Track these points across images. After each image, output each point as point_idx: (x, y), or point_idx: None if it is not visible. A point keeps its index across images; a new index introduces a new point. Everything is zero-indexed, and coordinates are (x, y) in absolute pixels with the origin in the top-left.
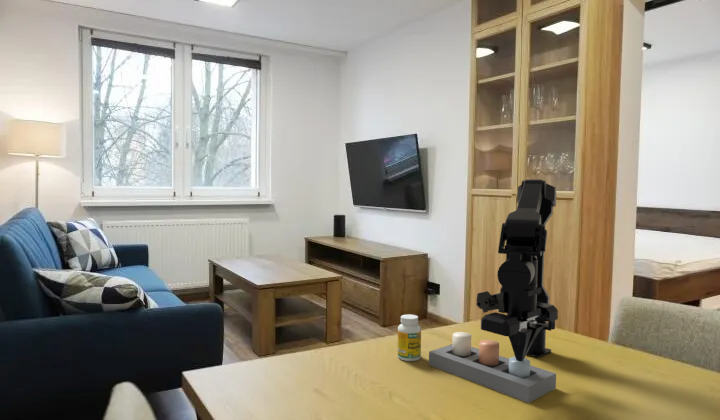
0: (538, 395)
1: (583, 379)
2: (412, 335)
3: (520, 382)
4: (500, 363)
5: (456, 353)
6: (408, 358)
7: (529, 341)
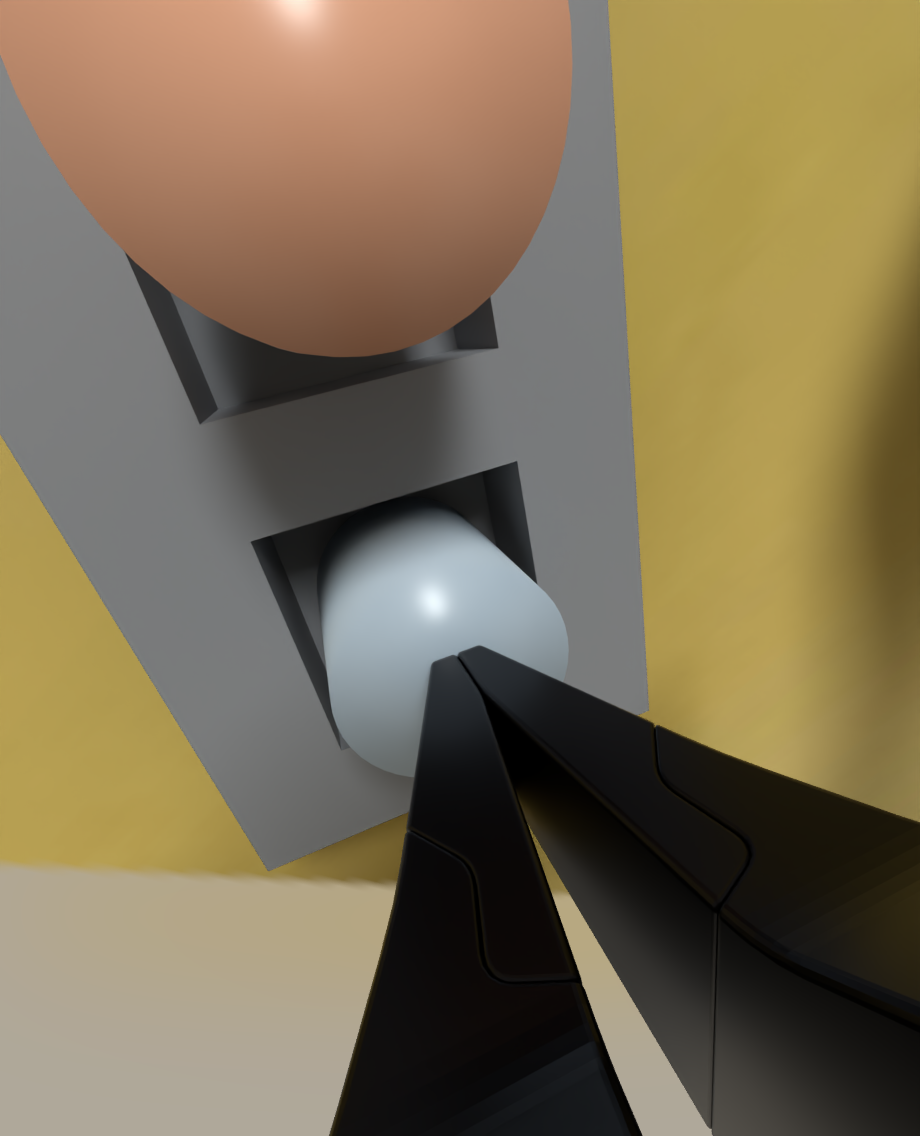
0: None
1: (809, 598)
2: None
3: (257, 801)
4: None
5: None
6: None
7: (644, 1009)
